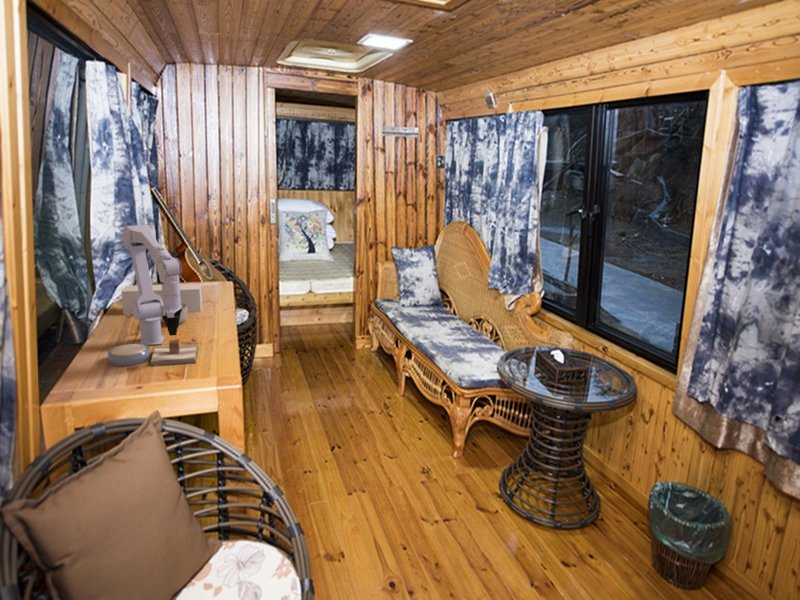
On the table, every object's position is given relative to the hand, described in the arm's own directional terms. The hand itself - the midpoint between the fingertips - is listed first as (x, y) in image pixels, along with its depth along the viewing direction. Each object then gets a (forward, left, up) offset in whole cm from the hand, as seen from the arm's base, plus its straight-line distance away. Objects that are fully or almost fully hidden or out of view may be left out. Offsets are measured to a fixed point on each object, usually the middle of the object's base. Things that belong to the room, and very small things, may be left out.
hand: (174, 331), depth 199 cm
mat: (0, 0, -9) cm, 9 cm away
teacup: (-41, -5, -10) cm, 42 cm away
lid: (0, 0, -9) cm, 9 cm away
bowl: (0, -15, -9) cm, 18 cm away
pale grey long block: (-63, -10, -10) cm, 64 cm away
